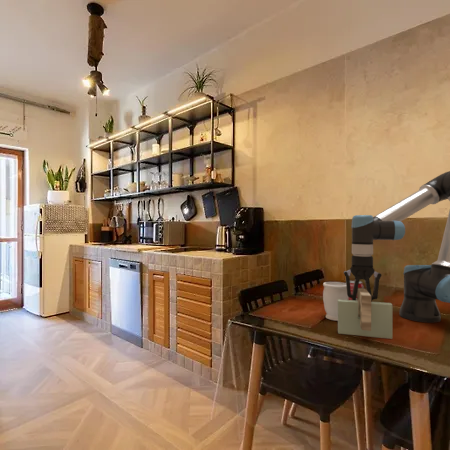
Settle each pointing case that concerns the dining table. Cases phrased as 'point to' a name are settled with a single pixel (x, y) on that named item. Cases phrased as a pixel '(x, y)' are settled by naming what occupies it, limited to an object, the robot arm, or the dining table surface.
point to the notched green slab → (351, 321)
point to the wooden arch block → (364, 308)
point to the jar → (333, 298)
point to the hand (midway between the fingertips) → (361, 316)
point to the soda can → (353, 287)
